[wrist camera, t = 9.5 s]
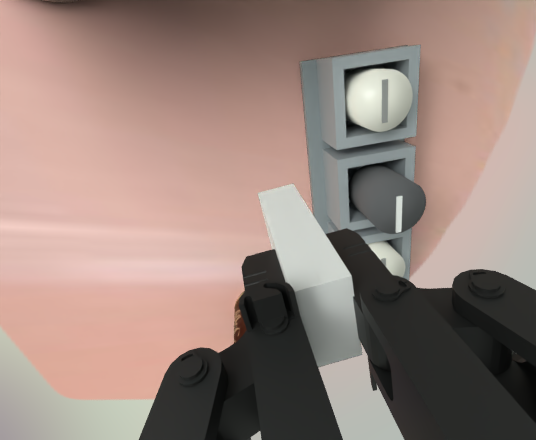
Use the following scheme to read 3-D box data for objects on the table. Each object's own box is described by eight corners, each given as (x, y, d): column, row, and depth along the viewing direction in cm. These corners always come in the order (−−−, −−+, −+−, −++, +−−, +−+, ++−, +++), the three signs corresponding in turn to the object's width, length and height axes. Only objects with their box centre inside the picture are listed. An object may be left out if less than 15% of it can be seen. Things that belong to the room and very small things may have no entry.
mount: (299, 61, 34) (314, 61, 29) (403, 45, 35) (436, 42, 30) (318, 275, 46) (332, 302, 40) (397, 259, 46) (420, 283, 41)
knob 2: (340, 231, 42) (360, 257, 36) (381, 224, 42) (407, 248, 36) (342, 267, 44) (361, 296, 38) (381, 259, 44) (405, 287, 39)
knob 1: (332, 72, 34) (355, 74, 28) (382, 64, 34) (415, 64, 29) (335, 125, 36) (357, 136, 31) (382, 117, 37) (412, 126, 31)
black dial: (346, 167, 35) (371, 187, 30) (395, 159, 35) (428, 176, 30) (348, 213, 37) (372, 239, 32) (393, 204, 38) (425, 229, 32)
